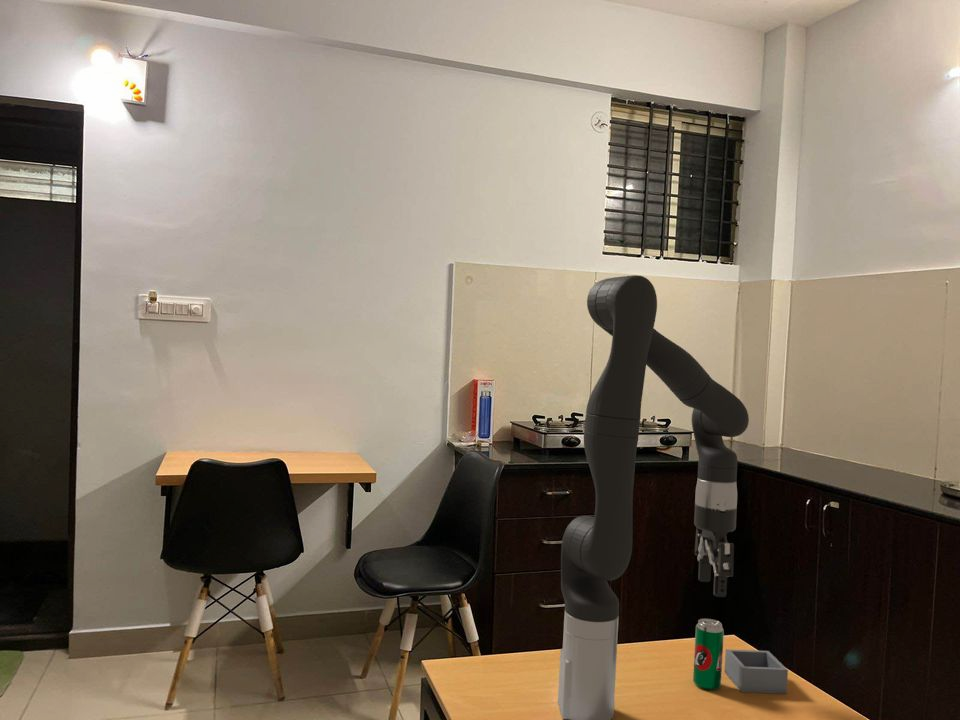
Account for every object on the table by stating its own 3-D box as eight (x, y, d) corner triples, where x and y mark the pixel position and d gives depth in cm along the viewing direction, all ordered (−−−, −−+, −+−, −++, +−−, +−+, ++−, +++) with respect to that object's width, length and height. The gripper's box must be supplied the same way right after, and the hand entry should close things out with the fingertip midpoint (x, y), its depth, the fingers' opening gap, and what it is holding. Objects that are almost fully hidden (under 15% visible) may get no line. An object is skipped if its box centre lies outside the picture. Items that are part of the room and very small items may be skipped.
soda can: (722, 693, 135) (725, 629, 134) (694, 689, 136) (697, 625, 135) (718, 681, 139) (722, 619, 139) (691, 677, 140) (694, 616, 140)
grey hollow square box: (741, 692, 135) (742, 668, 135) (724, 671, 144) (725, 649, 144) (786, 693, 136) (787, 670, 136) (767, 673, 144) (768, 650, 144)
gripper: (684, 495, 144) (680, 576, 144) (708, 511, 130) (704, 601, 130) (721, 496, 144) (718, 577, 145) (750, 512, 130) (746, 602, 130)
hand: (711, 588), depth 137 cm, fingers open, 8 cm apart
